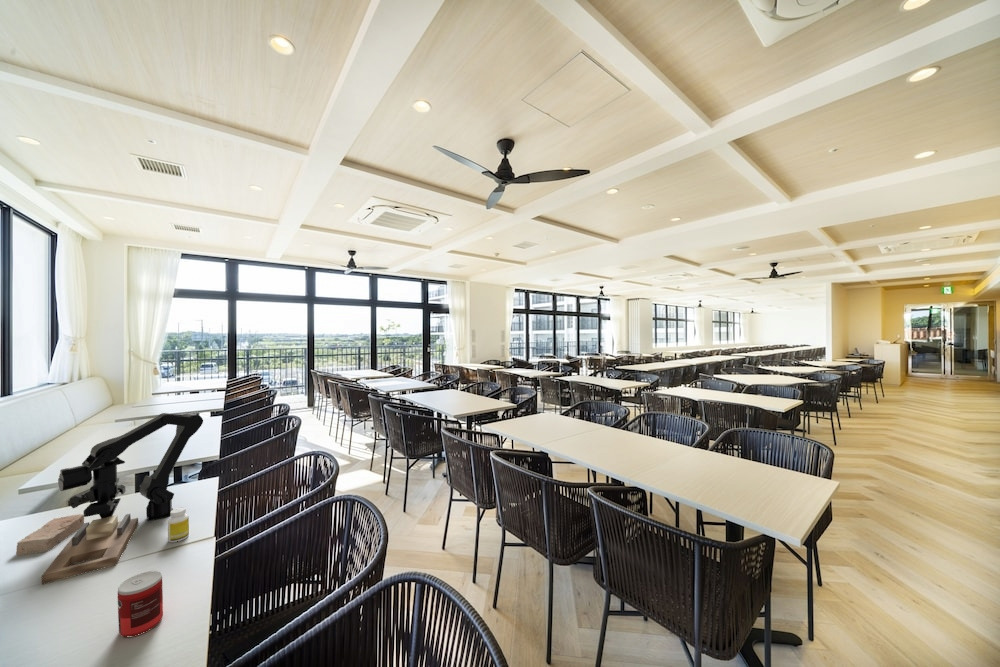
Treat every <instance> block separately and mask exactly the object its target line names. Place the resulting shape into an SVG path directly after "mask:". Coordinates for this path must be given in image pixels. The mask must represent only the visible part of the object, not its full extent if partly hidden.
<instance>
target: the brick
mask: <svg viewBox="0 0 1000 667" xmlns="http://www.w3.org/2000/svg"><path fill="white" fill-rule="evenodd" d="M84 523H85V517H84V513H82V514H81V513H80V514H73V515H67V516H62V517H57V518H55V517H54V518H53V519H51V520H50V521H48V522H47V523H45V524H43V526H42V527H40V528H38V529H37V530H35V531H33V532H32V533H30V534H28V535H26V536H25V537H24V538H22V539H21V540H20V541H18V542H16V552H15V555H16V556H25V555H29V554H37V552H39V553H44V552H43V551H45V552H48V550H49V551H50V549H51V550H52V549H54V548H55V547H57V546H58V545H59V544H60V543H62V542H63V541H65V538H66V537H67V538H68V536H69V535H70V534H71V535H73V534H74V533H76V532H77V531H78V530H79V529H80V528H81V527H82V525H83V524H84ZM77 529H78V530H77ZM76 530H77V531H76ZM75 531H76V532H75ZM73 532H74V533H73ZM72 533H73V534H72ZM71 535H70V536H71ZM70 536H69V537H70ZM67 538H66V539H67ZM62 540H63V541H62ZM61 541H62V542H61ZM59 542H60V543H59ZM54 546H55V547H54ZM53 547H54V548H53Z"/></svg>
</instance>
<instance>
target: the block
mask: <svg viewBox="0 0 1000 667" xmlns="http://www.w3.org/2000/svg"><path fill="white" fill-rule="evenodd" d="M118 517H119V516H118V515H117V514H116V515H113V516H111V517H106V518H101V517H100V518H96V519H93V520H91V522H89V526H88V527H87V528H86V537H87V540H90V539H95V538H99V537H104V536H108V535H112V534H113V533H114V531H115V530H116V529H117V527H118V522H119V521H118V520H119V519H118Z"/></svg>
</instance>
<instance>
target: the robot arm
mask: <svg viewBox="0 0 1000 667" xmlns="http://www.w3.org/2000/svg"><path fill="white" fill-rule="evenodd" d="M203 424H204V419H203V418H202V416H200V415H198V414H195V413H189V412H188V413H185V414H177V413H176V414H175V413H168V412H162V413H159V415H157V416H155V417H153V418H152V419H150V420H148V421H146V422H144V423H142V424H141V425H139V426H137V427H135V428H132V429H131V430H129V431H128V432H126V433H124V434H122V435H120V436H117V437H113V438H109V439H106V440H105V441H101V442H99V443H97V444H95V445H94V446H92V447H91V449H90V453H89V455H88V456H87V457H86V458H85V460H84V461H83V462H82V463H81V465H78V466H73V467H68V468H67V467H66V468H62V469H60V473H59V476H58V480H57V482H58V483H57V484H58V488H59V491H60V492H63V491H65V492H66V491H67V490H72V489H75V488H81V487H83V486H87V485H88V484H89V483H91V481H92V485H91V486H90V487H89V488H87V489H85V490H83V491H80V492H79V493H76V494H74V495H72V496H71V497H70V498H69V499H68V500H67V506H68V507H71V509H76V508H78V506H80V505H81V506H82V505H83V504H85V503H88V502H89V503H90V504H89V505H87V507H86V508H84V510H83V515H84V518H86V517H92V516H97V515H99V518H100V519H101V518H106V517H111V516H114V514H115V512H116V509H117V507H118V505H119V503H120V501H121V500H122V498H120V497H119V498H118V495H119V494H121V495H124V494H125V493H126V489H127V488H126V486H125V485H123V484H118V483H119V482H120V478H119V477H118V466H119V465H122V464H125V463H126V461H125V460H123V459H121V458H120V457H119V456H120V455H121V454H122V453H124V452H125V451H126V450H127V449H128V448H129V447H130V446H131V445H133V444H135V443H136V442H138V441H140V440H142V439H144V438H146V437H147V436H149V435H151V434H153V433H154V432H157V431H158V430H159V429H162V428H163V427H165V426H167V425H172V426H176V427H175V428H176V429H175V435H174V437H173V438H172V441H171V443H170V444H169V446H168V448H167V450H166V452H165V453H164V455H163V457H162V458H161V460H160V462H159V464H158V466H157V468H156V469H155V471H154V472H153V473H152V474H151V475H145V476H144V478H143V481H142V483H141V484H140V485H139V487H140V488H139V487H138V488H139V493H140V495H141V496H143V497H144V498H146V499H147V500H149V501H148V502H147V506H146V508H145V509H146V518H147V520H146V521H148V522H150V521H154V519H155V520H158V519H163V518H167V517H171V516H170V512H171V511H172V510H174V508H173V503H172V501H173V498H174V497H175V493H174V492H172V491H170V490H168V486H169V483H170V482H169V481H170V476H171V475H170V474H171V473H172V471H173V469H174V467H175V465H176V463H177V462H178V460H179V459H180V457H181V455H182V453H183V451H184V449H185V447H186V446H187V443H188V442H189V440H190V438H191V437H193V436H194V435H195V434H196V433H197V432H198V430H199V429H201V428H200V427H202V425H203ZM116 497H117V498H116Z"/></svg>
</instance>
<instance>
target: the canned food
mask: <svg viewBox="0 0 1000 667" xmlns="http://www.w3.org/2000/svg"><path fill="white" fill-rule="evenodd" d="M117 587H118V588H117V613H118V616H117V619H118V632H119V635H120V636H121V635H122V636H126V637H125V638H128V637H127V636H135V635H138V634H141V633H143V632H146V631H148V630H149V629H151V628H152V629H153V627H154V626H155V625H156V624H158V623H160V622H161V621H162V619H163V616H164V605H163V604H164V602H163V601H164V597H163V592H164V591H163V575H162V572H161V571H158V570H152V571H151V570H150V571H146V572H141V573H139V574H135V575H133V576H131V577H129V578H128V579H126V580H124V581H123V582H122V583H120V584H119V586H117ZM158 625H159V624H158ZM156 626H157V625H156ZM156 626H155V627H156ZM155 627H154V628H155ZM152 629H151V630H152ZM149 631H150V630H149ZM149 631H148V632H149ZM146 633H147V632H146ZM143 634H144V633H143ZM141 635H142V634H141ZM122 636H121V637H122ZM138 636H139V635H138ZM135 637H136V636H135Z"/></svg>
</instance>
